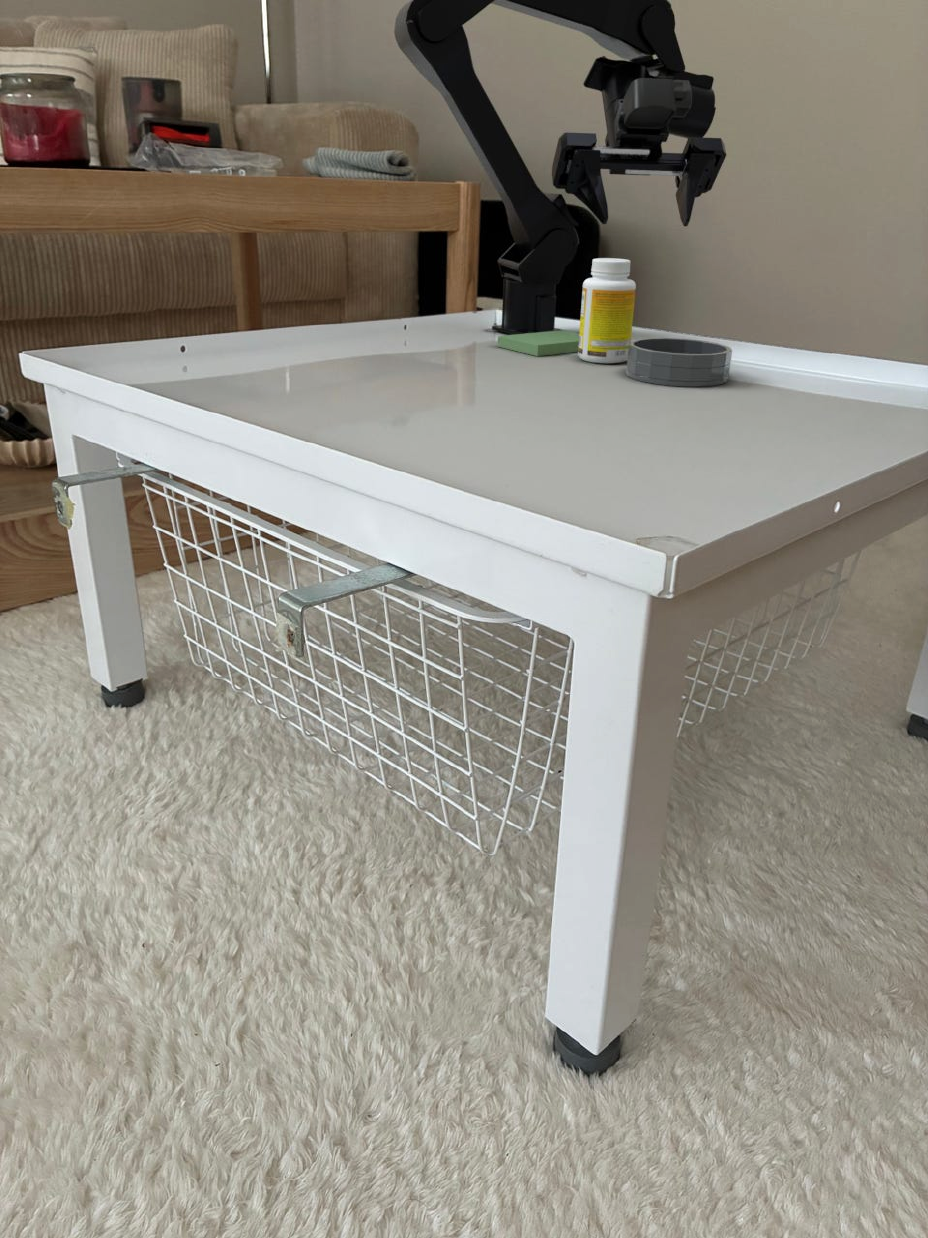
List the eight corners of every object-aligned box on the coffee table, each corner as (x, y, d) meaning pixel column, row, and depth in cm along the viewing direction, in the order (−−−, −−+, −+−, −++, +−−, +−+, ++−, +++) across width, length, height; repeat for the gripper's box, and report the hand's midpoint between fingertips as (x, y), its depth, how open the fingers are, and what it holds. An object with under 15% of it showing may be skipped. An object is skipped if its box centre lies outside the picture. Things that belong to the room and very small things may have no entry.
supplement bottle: (639, 362, 102) (649, 261, 98) (597, 366, 99) (606, 262, 95) (608, 353, 106) (616, 256, 102) (567, 357, 104) (574, 257, 99)
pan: (605, 372, 96) (608, 342, 95) (671, 364, 102) (675, 335, 101) (681, 390, 89) (685, 358, 88) (747, 380, 95) (752, 349, 93)
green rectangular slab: (497, 346, 109) (497, 335, 108) (561, 340, 114) (562, 329, 114) (537, 356, 104) (538, 344, 103) (602, 349, 109) (603, 338, 109)
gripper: (564, 47, 101) (578, 161, 96) (733, 55, 103) (756, 167, 98) (545, 132, 111) (557, 240, 106) (699, 138, 113) (718, 244, 108)
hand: (646, 222), depth 104 cm, fingers open, 9 cm apart
